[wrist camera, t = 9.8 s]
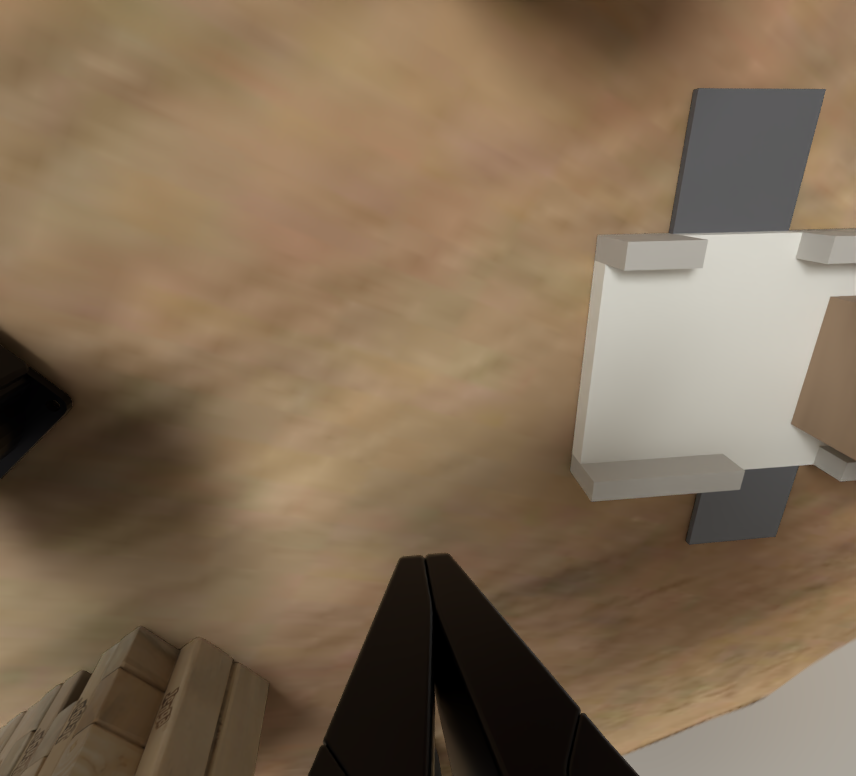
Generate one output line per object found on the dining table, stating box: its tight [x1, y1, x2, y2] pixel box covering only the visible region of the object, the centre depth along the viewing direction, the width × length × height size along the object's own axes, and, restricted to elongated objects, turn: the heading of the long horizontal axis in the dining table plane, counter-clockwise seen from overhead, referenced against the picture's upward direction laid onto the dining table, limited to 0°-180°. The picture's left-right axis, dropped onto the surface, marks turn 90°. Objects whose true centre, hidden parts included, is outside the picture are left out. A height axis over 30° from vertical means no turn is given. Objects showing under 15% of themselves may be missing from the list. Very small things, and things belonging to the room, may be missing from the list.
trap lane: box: [570, 88, 856, 545], centre depth 21 cm, size 22×21×4 cm
